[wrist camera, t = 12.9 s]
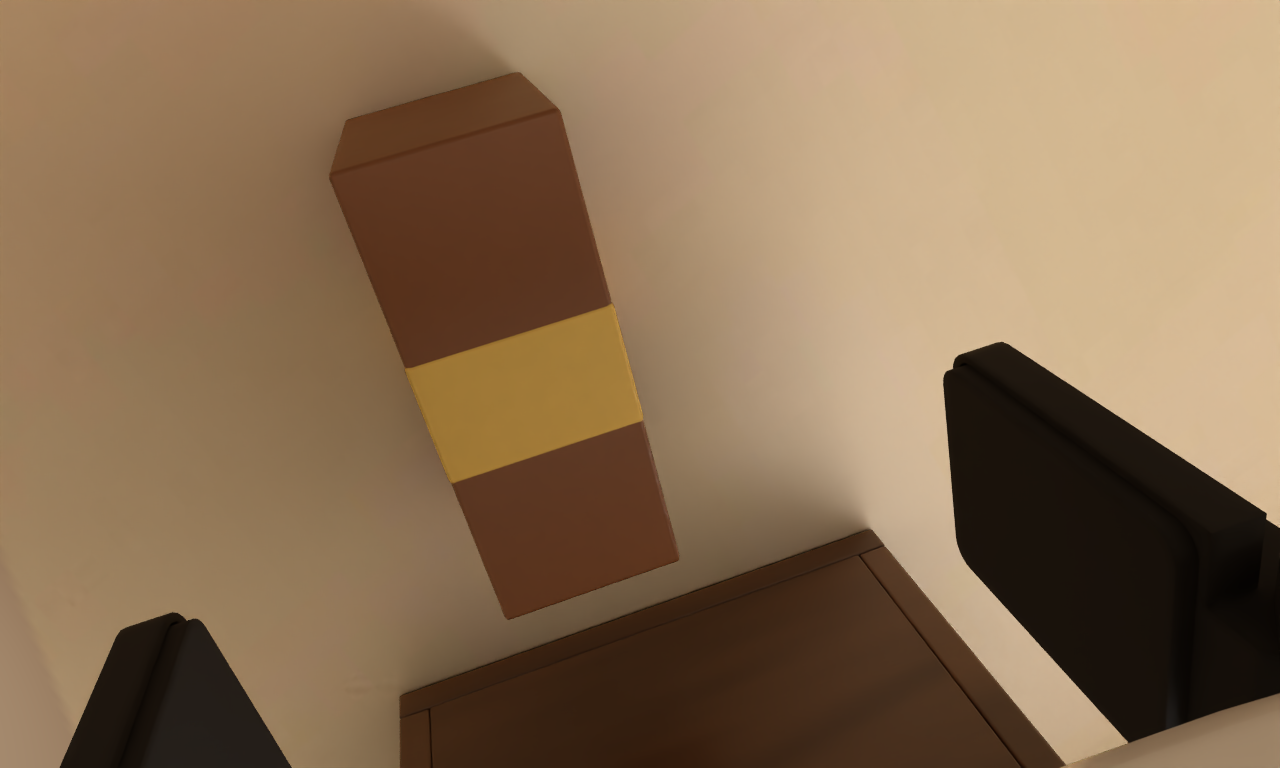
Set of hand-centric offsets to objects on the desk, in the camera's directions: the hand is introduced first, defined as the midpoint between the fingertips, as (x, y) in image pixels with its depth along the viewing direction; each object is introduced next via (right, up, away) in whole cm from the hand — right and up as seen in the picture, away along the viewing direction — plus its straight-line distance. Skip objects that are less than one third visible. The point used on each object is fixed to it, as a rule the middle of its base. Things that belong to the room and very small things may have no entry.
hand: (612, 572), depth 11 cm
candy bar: (-3, +4, +9) cm, 10 cm away
